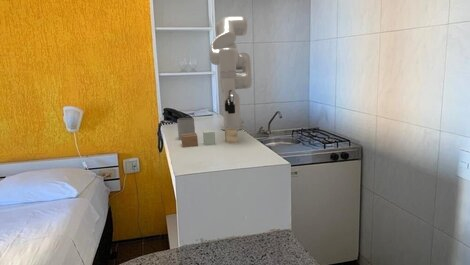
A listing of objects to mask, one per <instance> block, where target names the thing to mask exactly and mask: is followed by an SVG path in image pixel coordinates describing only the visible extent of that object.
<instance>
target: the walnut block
mask: <svg viewBox="0 0 470 265" xmlns="http://www.w3.org/2000/svg"><path fill="white" fill-rule="evenodd" d="M181 138H182V140H181V146H182V148H193V147H199V143H198V142H199V140H198V134H197V133H196V132H195V133H190V134H181Z"/></svg>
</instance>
